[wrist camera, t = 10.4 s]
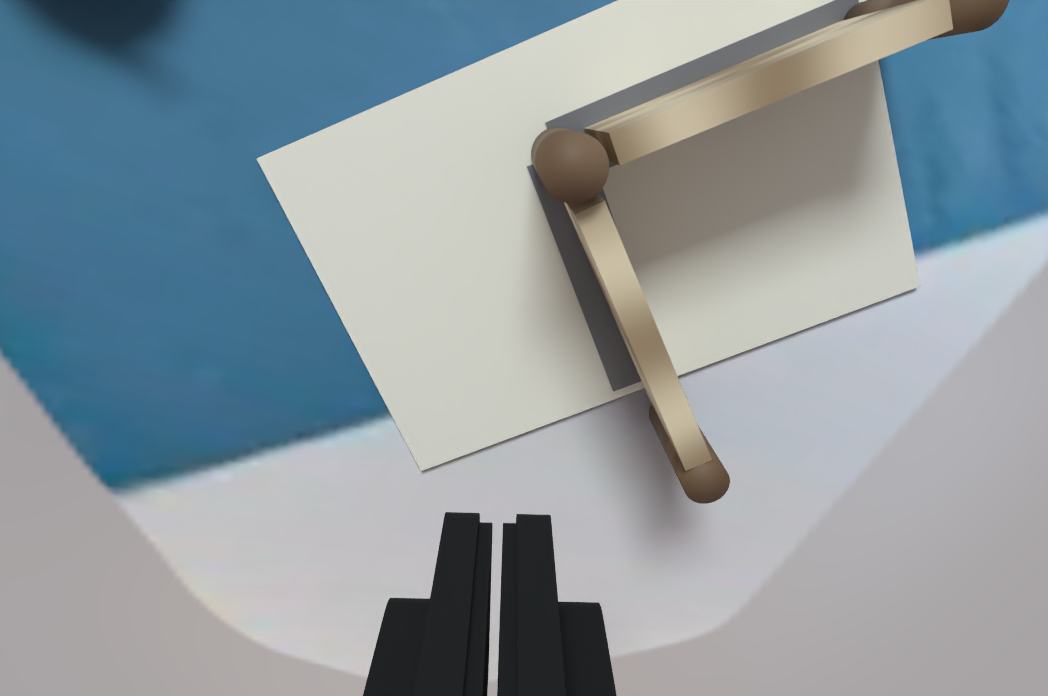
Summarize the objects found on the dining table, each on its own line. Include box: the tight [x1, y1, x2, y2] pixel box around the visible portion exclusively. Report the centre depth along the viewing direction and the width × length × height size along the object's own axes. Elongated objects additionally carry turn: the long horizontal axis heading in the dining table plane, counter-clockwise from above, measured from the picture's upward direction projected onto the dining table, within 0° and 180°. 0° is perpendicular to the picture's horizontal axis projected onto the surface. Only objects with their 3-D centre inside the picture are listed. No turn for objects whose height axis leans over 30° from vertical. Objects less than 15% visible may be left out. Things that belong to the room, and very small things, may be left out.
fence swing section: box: [564, 194, 730, 503], centre depth 29 cm, size 14×2×7 cm, turn 25°
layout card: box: [257, 0, 920, 471], centre depth 31 cm, size 28×18×1 cm, turn 112°
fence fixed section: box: [531, 0, 1009, 204], centre depth 25 cm, size 17×2×9 cm, turn 112°
